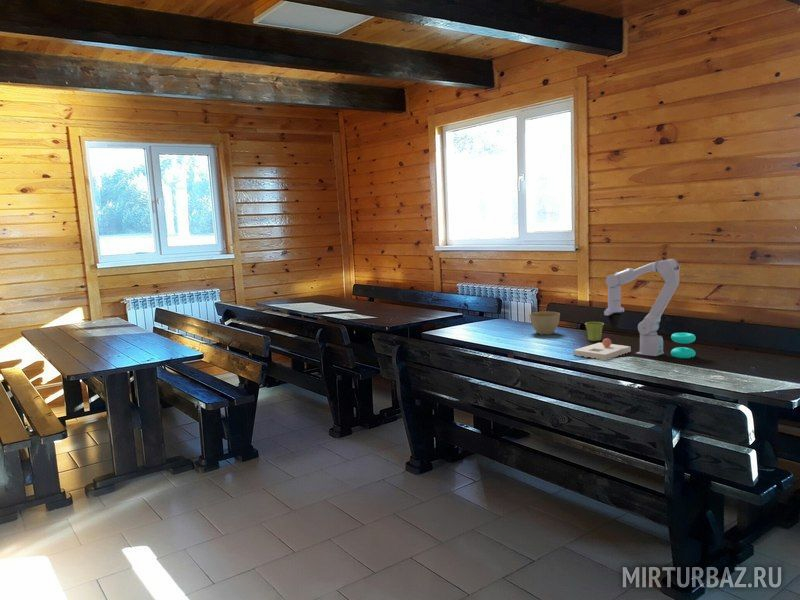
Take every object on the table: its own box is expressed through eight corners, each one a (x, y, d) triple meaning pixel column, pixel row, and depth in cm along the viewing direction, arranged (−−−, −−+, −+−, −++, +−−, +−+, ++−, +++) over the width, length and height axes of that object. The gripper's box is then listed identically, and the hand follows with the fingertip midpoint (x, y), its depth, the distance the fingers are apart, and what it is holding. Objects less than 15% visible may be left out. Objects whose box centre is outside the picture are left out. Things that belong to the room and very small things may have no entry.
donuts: (669, 335, 275) (672, 331, 284) (669, 357, 276) (672, 353, 285) (694, 336, 270) (697, 332, 279) (694, 359, 271) (696, 355, 280)
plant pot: (583, 341, 320) (583, 324, 319) (586, 337, 328) (586, 321, 327) (602, 342, 316) (602, 325, 315) (605, 338, 324) (605, 322, 323)
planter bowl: (531, 330, 356) (531, 311, 355) (561, 330, 351) (560, 311, 350) (528, 335, 341) (528, 315, 339) (559, 336, 336) (558, 316, 334)
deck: (630, 351, 291) (630, 346, 291) (605, 360, 277) (605, 354, 277) (599, 347, 303) (599, 342, 303) (573, 355, 289) (573, 350, 289)
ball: (613, 346, 292) (613, 338, 292) (608, 348, 290) (608, 339, 289) (605, 345, 295) (605, 337, 295) (600, 347, 293) (600, 338, 292)
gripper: (614, 297, 302) (614, 325, 303) (598, 301, 292) (598, 330, 294) (628, 298, 297) (628, 327, 298) (612, 302, 287) (611, 331, 289)
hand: (614, 328), depth 296 cm, fingers closed
